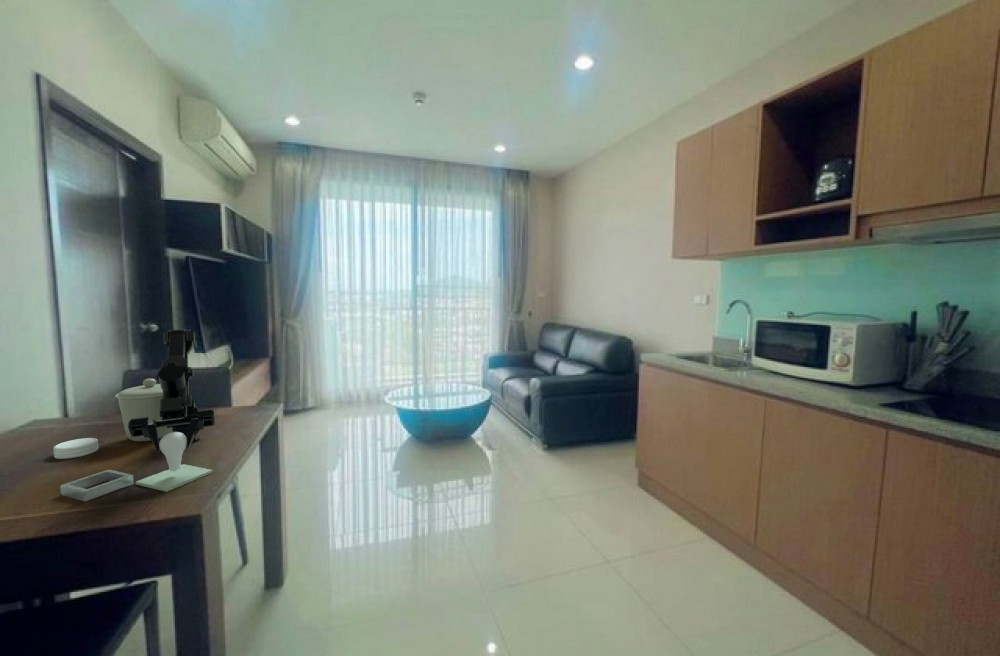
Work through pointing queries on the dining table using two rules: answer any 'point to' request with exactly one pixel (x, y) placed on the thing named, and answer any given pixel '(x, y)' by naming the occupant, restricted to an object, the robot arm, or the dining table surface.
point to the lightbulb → (173, 449)
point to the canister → (142, 406)
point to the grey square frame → (78, 486)
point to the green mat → (174, 478)
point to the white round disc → (75, 448)
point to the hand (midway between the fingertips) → (173, 449)
